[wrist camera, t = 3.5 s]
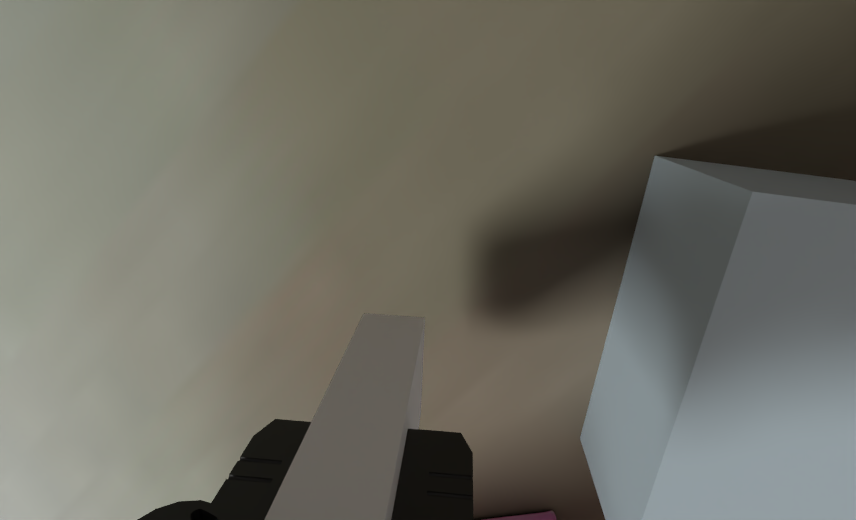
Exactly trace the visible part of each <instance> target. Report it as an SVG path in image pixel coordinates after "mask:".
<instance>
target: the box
mask: <svg viewBox="0 0 856 520" xmlns="http://www.w3.org/2000/svg"><path fill="white" fill-rule="evenodd" d="M483 520H557V519H556V515H555V513H554V512H553V511H547V512H541V513H533V514H525V515H517V516H508V517H499V518H491V519H483Z"/></svg>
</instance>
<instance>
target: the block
mask: <svg viewBox="0 0 856 520" xmlns="http://www.w3.org/2000/svg"><path fill="white" fill-rule="evenodd" d="M580 440H581V443H582V446H583V450H584V453H585V456H586V459H587V462H588V466H589V469H590V472H591V475H592V478H593V482H594V485H595V488H596V491H597V494H598V498H599V501H600V504H601V507H602V510H603V514H604V517H605V520H856V181H853V180H845V179H837V178H829V177H821V176H813V175H805V174H797V173H789V172H781V171H773V170H765V169H758V168H750V167H742V166H734V165H726V164H718V163H710V162H702V161H694V160H686V159H678V158H670V157H662V156H655V157H654V161H653V165H652V168H651V172H650V176H649V180H648V184H647V187H646V191H645V195H644V199H643V202H642V206H641V210H640V214H639V218H638V221H637V225H636V229H635V233H634V236H633V240H632V244H631V248H630V252H629V255H628V259H627V263H626V267H625V270H624V274H623V278H622V282H621V286H620V289H619V293H618V297H617V301H616V304H615V308H614V312H613V316H612V320H611V323H610V327H609V331H608V335H607V338H606V342H605V346H604V350H603V354H602V357H601V361H600V365H599V369H598V372H597V376H596V380H595V384H594V388H593V391H592V395H591V399H590V403H589V406H588V410H587V414H586V418H585V422H584V425H583V429H582V433H581V437H580Z"/></svg>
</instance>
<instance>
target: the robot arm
mask: <svg viewBox="0 0 856 520" xmlns="http://www.w3.org/2000/svg"><path fill="white" fill-rule="evenodd" d="M424 327H425V317H411V316H397V315H383V314H369V313H364V314H363V316H362V318H361V320H360V322H359V324H358V326H357V328H356V330H355V333H354V335H353V337H352V339H351V341H350V343H349V345H348V347H347V349H346V351H345V353H344V355H343V357H342V360H341V362H340V364H339V366H338V368H337V370H336V372H335V374H334V376H333V378H332V380H331V382H330V384H329V387H328V389H327V391H326V393H325V395H324V397H323V399H322V401H321V403H320V405H319V407H318V409H317V412H316V414H315V416H314V418H313V420H312V422H304V421H292V420H280V419H275V420H274V421H272V422H271V423H270V424H268V425H267V426H266V427H265V428H263V429H262V430H261V431H259V432H258V433H257V434H255V435H254V436H253V438H252V439H251V441H250V442H249V444H248V446H247V447H246V449H245V450H244V452H243V454H242V455H241V457H240V461H237V463H236V465H235V466H234V468H233V469H232V471H231V473H230V474H229V479H226V481H225V482H224V484H223V485H222V487H221V488H220V490H219V492H218V493H217V495H216V496H215V498H214V500H213V501H212V503H208V502H205V501H201V500H199V501H181V502H176V503H173V504H170V505H167V506H164V507H161V508H158V509H155V510H153V511H152V512H150V513H148V514H147V515H145V516H143V517H141V518H140V519H138V520H473V480H472V479H473V457H472V451H471V450H470V448H469V446H468V444H467V443H466V441H465V439H464V437H463V436H462V434H461V433H455V432H443V431H431V430H420V429H418V428H419V421H420V415H421V395H422V373H423V350H424Z"/></svg>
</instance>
